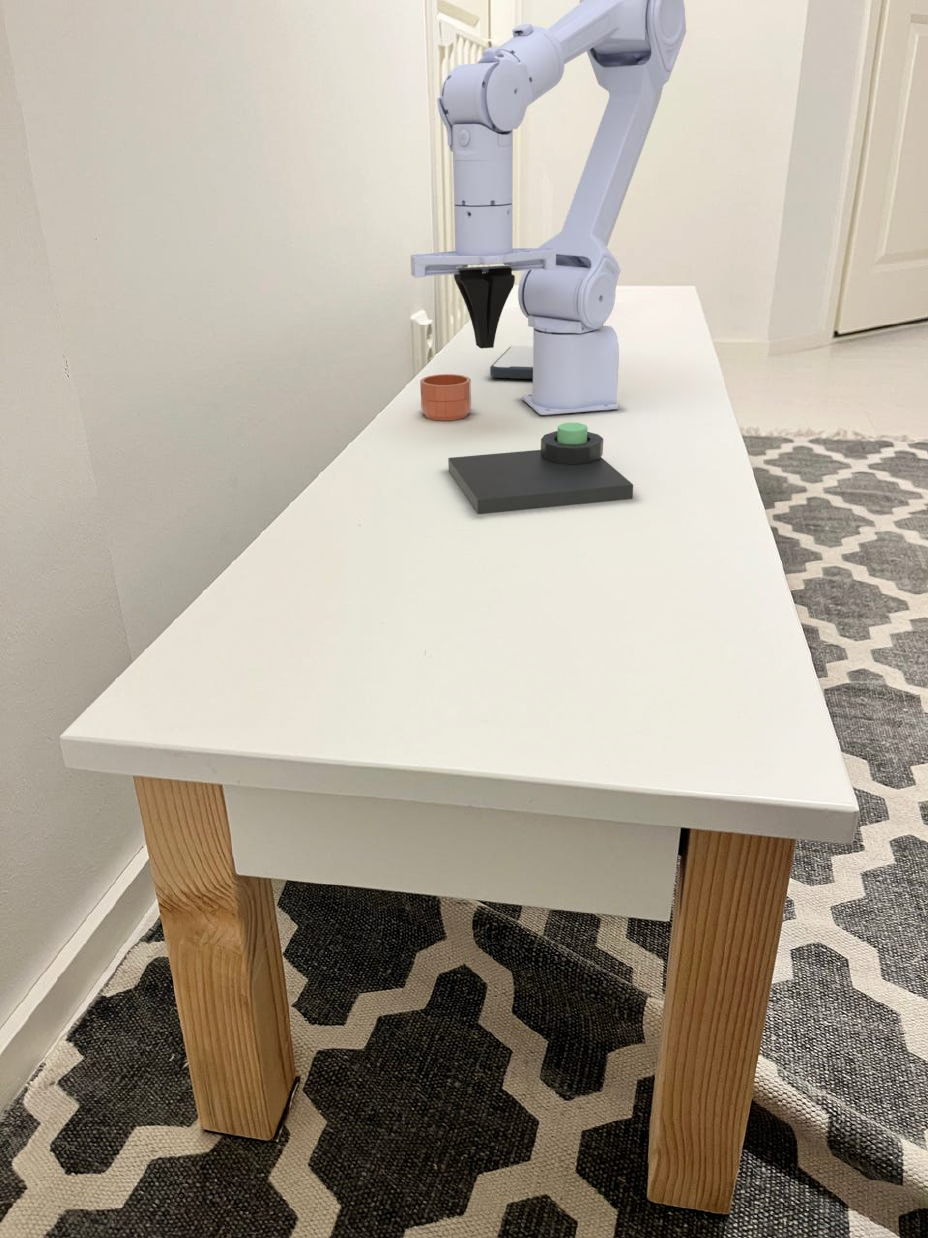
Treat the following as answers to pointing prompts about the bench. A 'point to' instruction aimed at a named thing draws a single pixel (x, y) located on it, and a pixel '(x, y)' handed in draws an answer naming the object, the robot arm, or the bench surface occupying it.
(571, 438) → the button
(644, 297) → the bench surface
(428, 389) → the bowl
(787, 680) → the bench surface
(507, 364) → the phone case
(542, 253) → the robot arm
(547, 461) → the scale
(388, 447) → the bench surface
